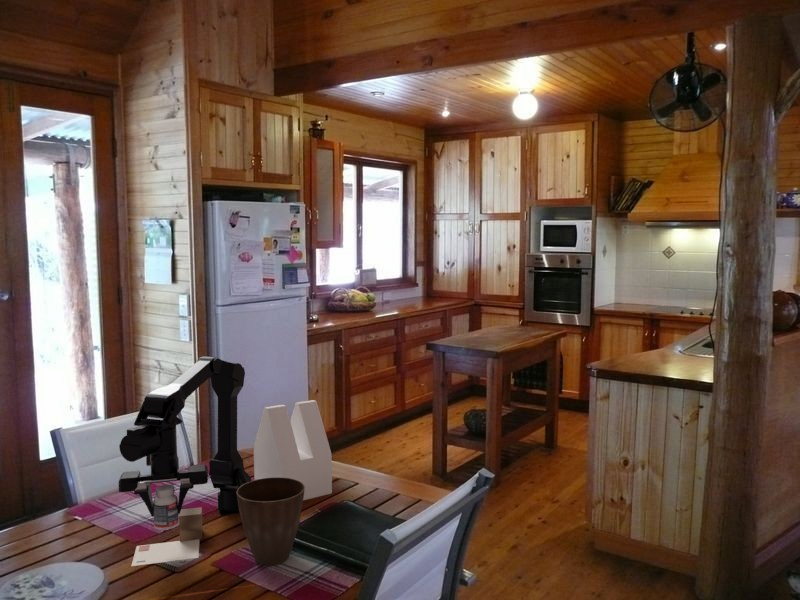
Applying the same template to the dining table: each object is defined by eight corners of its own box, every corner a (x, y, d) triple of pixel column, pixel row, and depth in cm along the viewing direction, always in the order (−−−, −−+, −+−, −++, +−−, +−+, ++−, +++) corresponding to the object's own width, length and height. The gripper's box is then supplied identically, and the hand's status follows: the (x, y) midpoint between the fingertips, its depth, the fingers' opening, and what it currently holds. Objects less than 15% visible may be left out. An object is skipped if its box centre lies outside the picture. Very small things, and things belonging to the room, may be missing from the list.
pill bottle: (170, 531, 144) (168, 492, 143) (149, 529, 145) (147, 491, 144) (183, 521, 149) (181, 484, 149) (162, 519, 150) (160, 482, 150)
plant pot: (248, 542, 153) (246, 476, 152) (310, 543, 152) (309, 477, 151) (229, 574, 138) (227, 501, 137) (299, 574, 138) (297, 501, 136)
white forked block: (332, 493, 184) (330, 407, 182) (281, 506, 175) (280, 415, 173) (301, 474, 199) (300, 394, 197) (254, 484, 191) (252, 401, 189)
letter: (199, 539, 154) (199, 538, 154) (198, 558, 145) (198, 557, 145) (136, 547, 151) (136, 545, 151) (131, 567, 141) (131, 565, 141)
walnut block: (202, 531, 159) (201, 507, 159) (201, 538, 154) (201, 513, 154) (181, 534, 158) (180, 509, 157) (179, 541, 153) (179, 516, 153)
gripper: (207, 434, 156) (209, 496, 157) (123, 440, 151) (126, 505, 152) (206, 447, 145) (208, 515, 147) (116, 455, 140) (119, 525, 142)
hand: (166, 514), depth 147 cm, fingers closed on pill bottle, 5 cm apart
